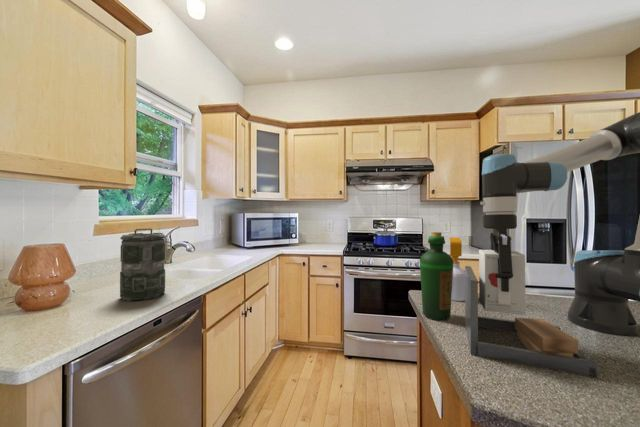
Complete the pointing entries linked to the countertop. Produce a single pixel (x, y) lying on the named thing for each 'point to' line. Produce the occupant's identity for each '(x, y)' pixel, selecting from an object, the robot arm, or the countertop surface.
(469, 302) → the stand
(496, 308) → the supplement box
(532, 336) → the offcut upper
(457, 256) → the soap bottle
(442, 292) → the bottle
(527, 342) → the offcut lower
